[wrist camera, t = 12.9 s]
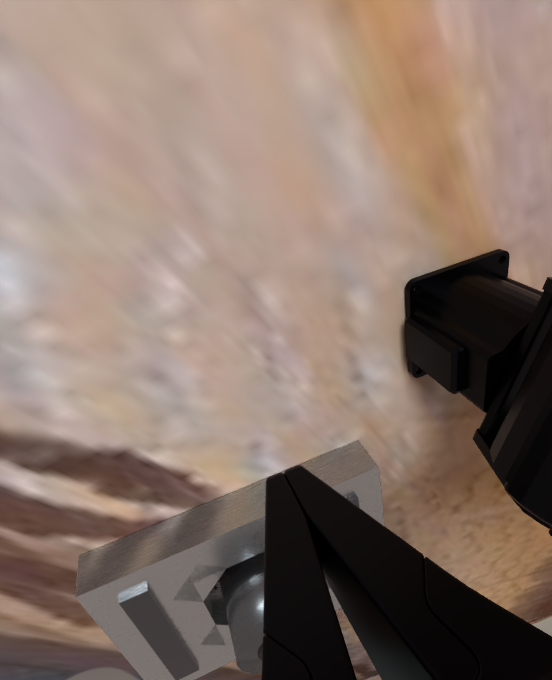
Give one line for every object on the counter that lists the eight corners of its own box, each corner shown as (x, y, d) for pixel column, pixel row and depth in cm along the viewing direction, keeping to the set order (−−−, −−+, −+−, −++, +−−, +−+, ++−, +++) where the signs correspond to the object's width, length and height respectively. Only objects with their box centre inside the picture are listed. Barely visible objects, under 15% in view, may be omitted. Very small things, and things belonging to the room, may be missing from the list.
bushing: (277, 517, 28) (311, 605, 23) (291, 560, 31) (325, 647, 26) (206, 549, 28) (226, 647, 22) (227, 590, 30) (249, 686, 25)
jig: (358, 440, 28) (381, 470, 25) (373, 555, 34) (392, 587, 32) (78, 555, 24) (74, 602, 22) (155, 658, 31) (158, 702, 29)
